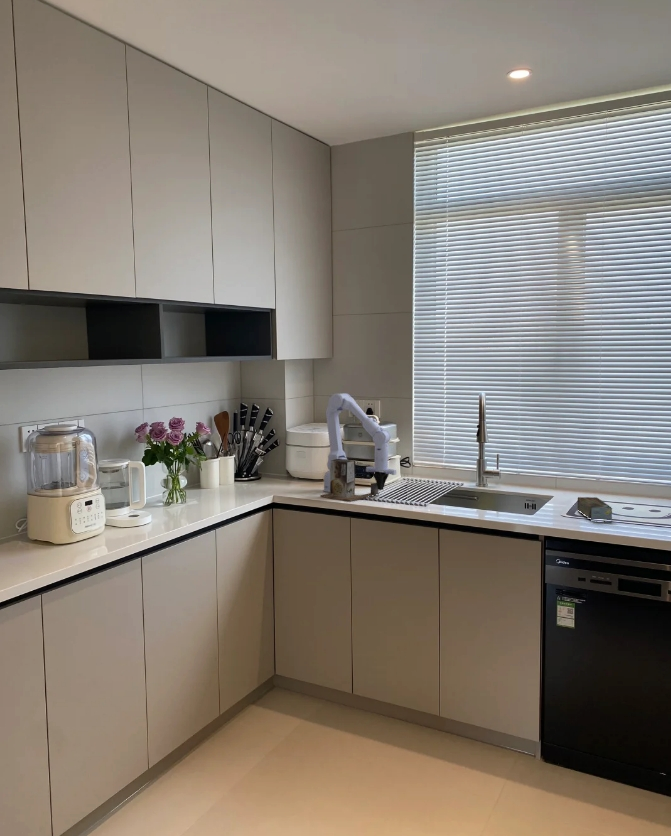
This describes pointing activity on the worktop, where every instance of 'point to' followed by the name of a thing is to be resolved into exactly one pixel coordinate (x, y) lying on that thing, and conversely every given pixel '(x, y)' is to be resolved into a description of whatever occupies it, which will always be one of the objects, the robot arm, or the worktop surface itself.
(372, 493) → the brown board with post
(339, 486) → the coffee box
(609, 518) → the beverage carton
